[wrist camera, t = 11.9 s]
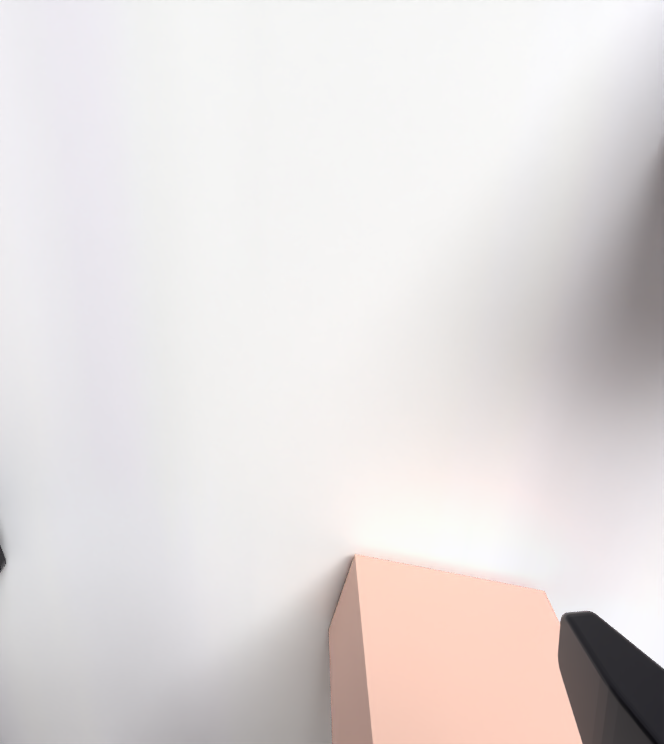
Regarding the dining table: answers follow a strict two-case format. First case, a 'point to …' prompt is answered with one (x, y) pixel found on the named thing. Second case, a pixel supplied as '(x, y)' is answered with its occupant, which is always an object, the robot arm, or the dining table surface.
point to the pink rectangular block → (444, 660)
